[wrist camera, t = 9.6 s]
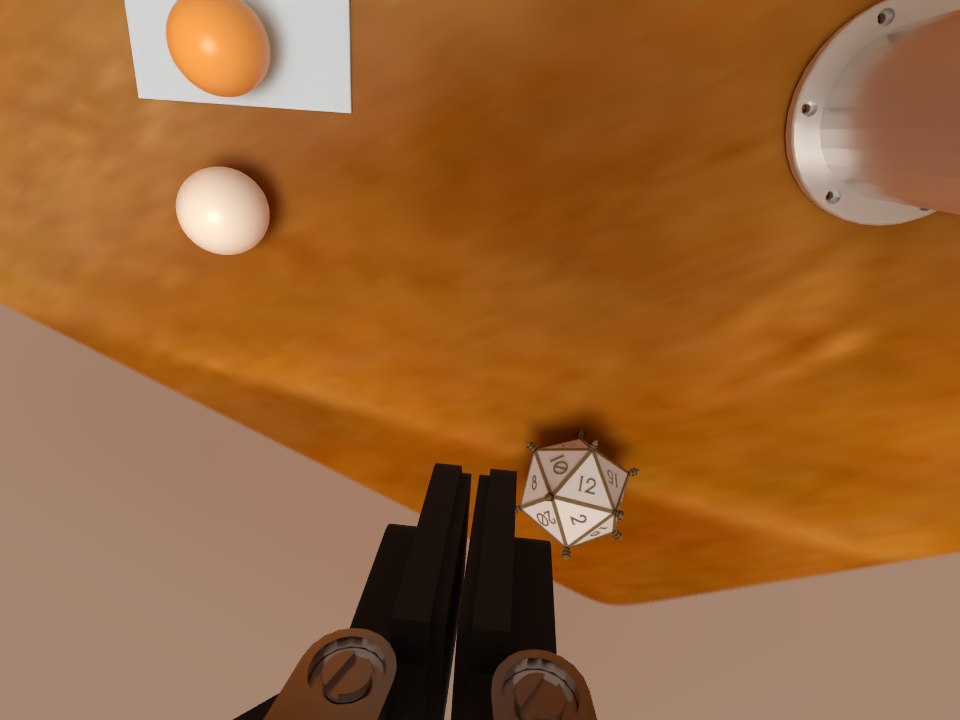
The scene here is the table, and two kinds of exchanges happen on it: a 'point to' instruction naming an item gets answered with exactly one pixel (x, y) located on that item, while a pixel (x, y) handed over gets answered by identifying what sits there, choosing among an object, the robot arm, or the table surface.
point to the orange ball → (218, 45)
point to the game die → (574, 492)
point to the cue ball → (222, 210)
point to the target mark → (293, 56)
